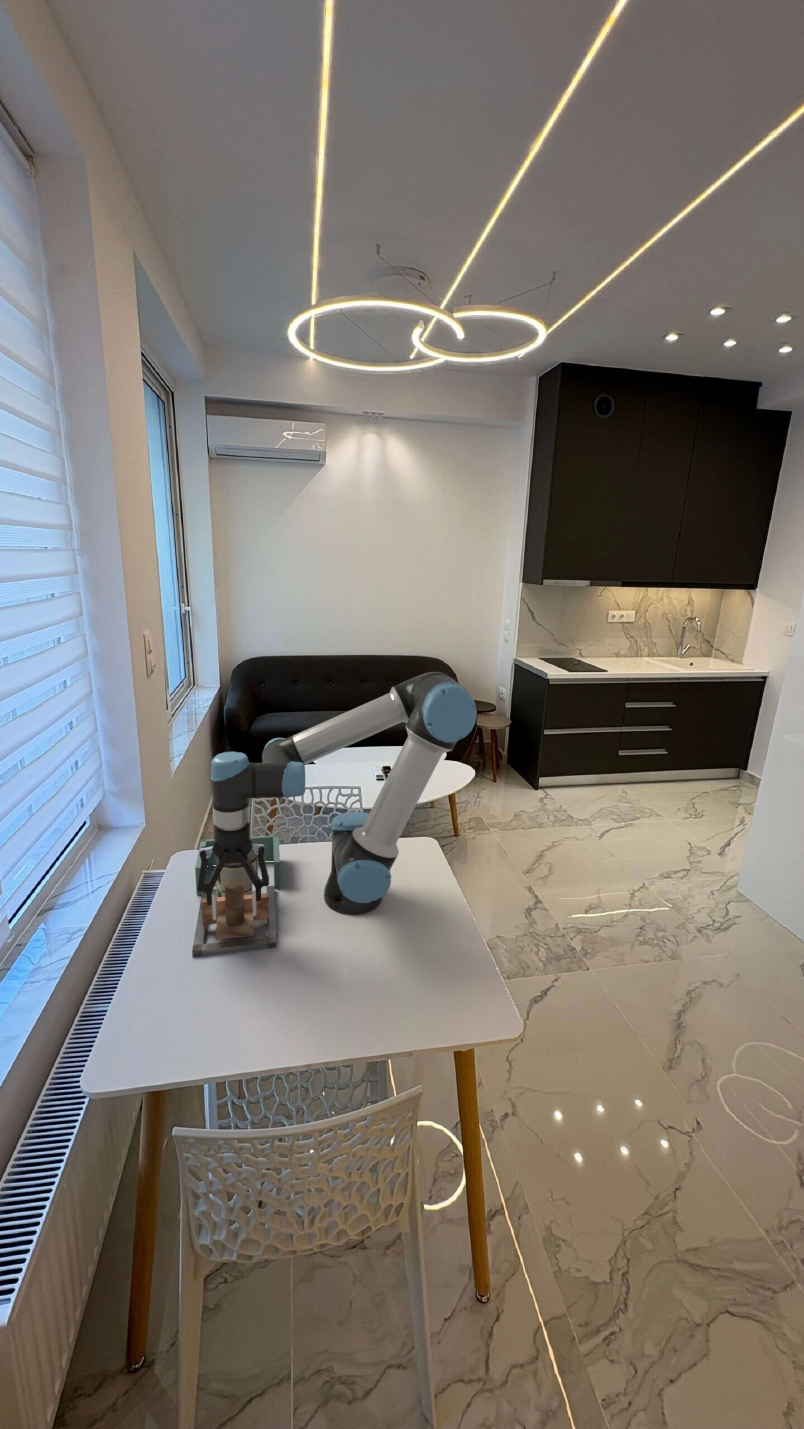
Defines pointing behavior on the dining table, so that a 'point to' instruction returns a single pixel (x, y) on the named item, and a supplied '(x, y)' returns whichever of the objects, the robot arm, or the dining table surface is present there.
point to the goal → (269, 843)
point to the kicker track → (235, 946)
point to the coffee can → (236, 875)
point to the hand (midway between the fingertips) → (235, 914)
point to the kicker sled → (235, 912)
